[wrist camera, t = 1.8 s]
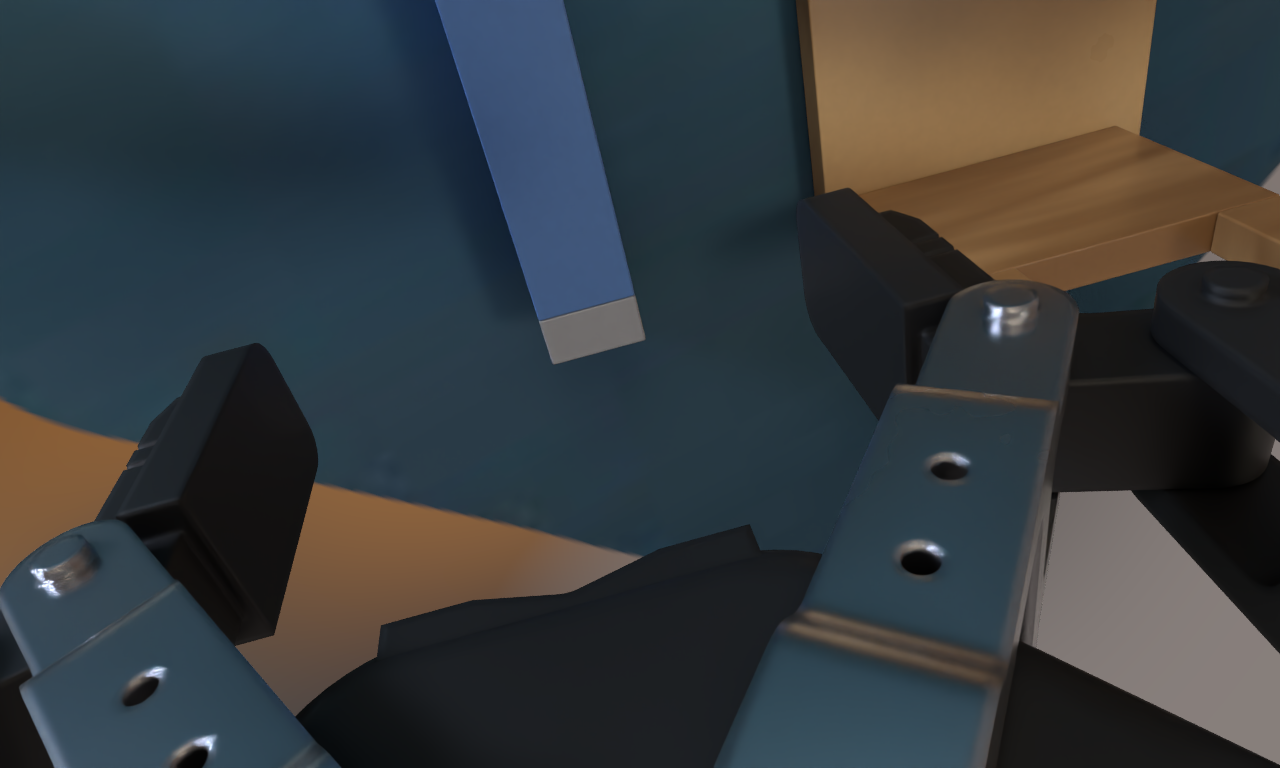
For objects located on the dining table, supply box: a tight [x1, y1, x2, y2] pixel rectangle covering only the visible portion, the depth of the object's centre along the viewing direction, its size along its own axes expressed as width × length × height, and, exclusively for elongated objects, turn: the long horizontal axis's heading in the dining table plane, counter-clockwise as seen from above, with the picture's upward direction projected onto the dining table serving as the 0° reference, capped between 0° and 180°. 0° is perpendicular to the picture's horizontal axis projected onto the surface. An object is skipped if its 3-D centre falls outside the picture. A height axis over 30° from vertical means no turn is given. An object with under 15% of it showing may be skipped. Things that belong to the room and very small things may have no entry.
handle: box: [435, 0, 645, 364], centre depth 23 cm, size 17×3×4 cm, turn 12°
